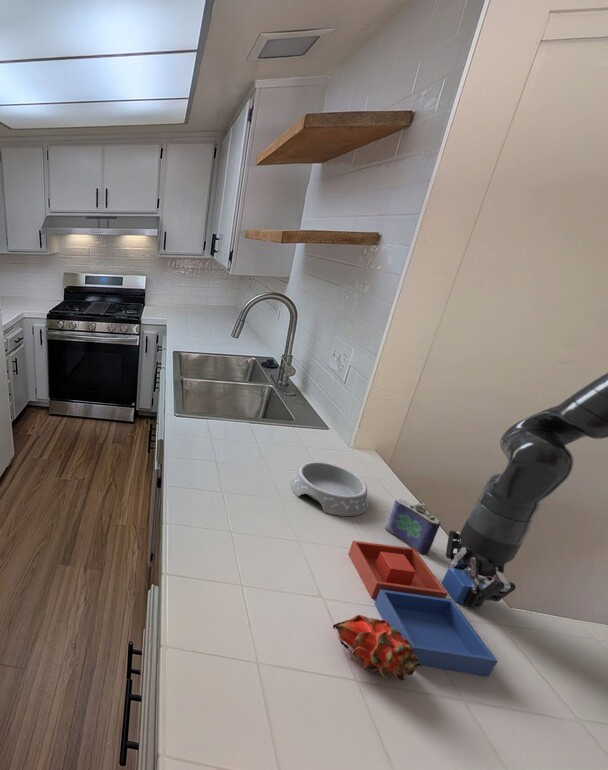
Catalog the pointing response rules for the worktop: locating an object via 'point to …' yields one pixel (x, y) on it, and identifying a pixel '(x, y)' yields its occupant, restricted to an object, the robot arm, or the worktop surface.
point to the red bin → (421, 584)
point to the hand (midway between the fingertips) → (461, 593)
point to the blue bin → (436, 632)
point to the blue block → (458, 584)
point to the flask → (413, 525)
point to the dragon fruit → (378, 646)
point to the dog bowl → (332, 488)
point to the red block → (394, 568)
